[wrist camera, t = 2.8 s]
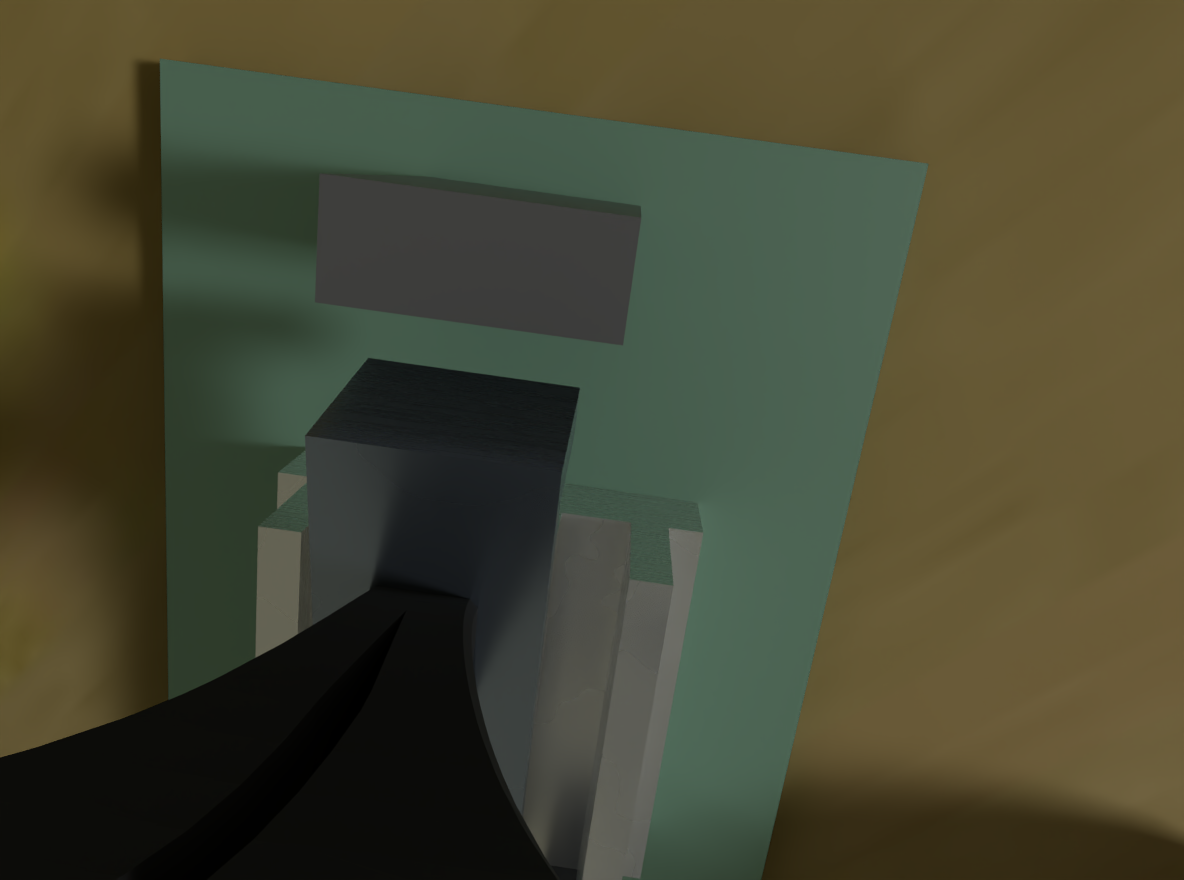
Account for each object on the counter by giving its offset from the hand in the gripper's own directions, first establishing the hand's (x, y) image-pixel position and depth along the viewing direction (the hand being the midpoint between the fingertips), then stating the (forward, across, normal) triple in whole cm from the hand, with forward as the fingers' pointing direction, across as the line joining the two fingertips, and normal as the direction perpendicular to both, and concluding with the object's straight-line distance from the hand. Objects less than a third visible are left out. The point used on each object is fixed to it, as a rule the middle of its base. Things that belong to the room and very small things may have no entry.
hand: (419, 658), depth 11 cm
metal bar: (+3, 0, +3) cm, 4 cm away
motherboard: (+7, 0, +3) cm, 8 cm away
